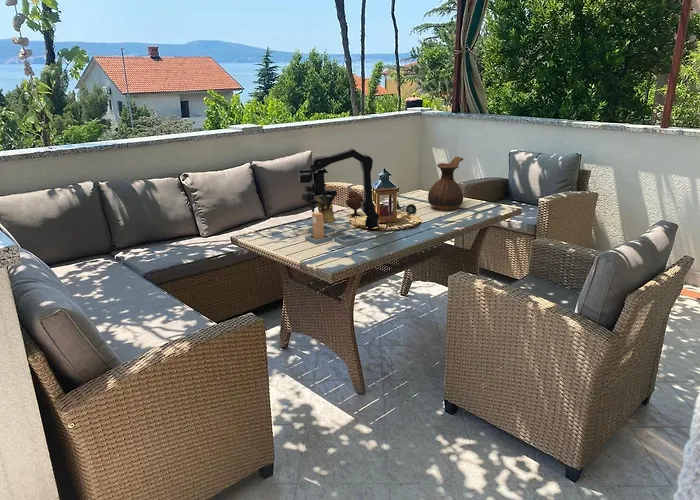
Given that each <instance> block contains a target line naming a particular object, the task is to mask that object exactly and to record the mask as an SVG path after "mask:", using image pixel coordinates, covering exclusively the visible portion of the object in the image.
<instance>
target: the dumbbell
mask: <svg viewBox="0 0 700 500" xmlns="http://www.w3.org/2000/svg"><path fill="white" fill-rule="evenodd" d="M396 198H397V208H398V209H397V208H396V209H397V210H399V211H405V212H406V213H407V214H408V215H409V214H413V213H414V214H413V215H415V214H416V213H417V206H416V205H415V204H413V203H410V204H408V205H406V208H404V209H402V208H401V206H400V204H399V200H398V197H396Z"/></svg>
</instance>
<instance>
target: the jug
mask: <svg viewBox="0 0 700 500" xmlns="http://www.w3.org/2000/svg"><path fill="white" fill-rule="evenodd" d="M463 160H464V157H459V156H454V157H453V158H452V160H451V161H450V162H447V163H446V162H445V163H444V162H440V163H438V164H436V166H437V168H438V169H440V171H441V176H440V179H439V180H437V181H435V183H433V185H432V186H431V187H430V188H429V191H428V193H427V199H428V200H427V202H428V203H429V205H430V206H431V207H433V208H435V210H438V209H439V211H444V212H445V211H446V212H447V211H448V210H449V211H454V210H456V209H457V208H459V207H460V206H462V204H463V202H464V194H463V190H462V189H461V187H460V184H458V183H457V182H456V181H455V179H454V172H455V170H456V169H458V168H459V164H460V162H461V161H463ZM449 211H448V212H449Z"/></svg>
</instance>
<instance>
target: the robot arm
mask: <svg viewBox="0 0 700 500" xmlns="http://www.w3.org/2000/svg"><path fill="white" fill-rule="evenodd" d="M351 158H352V159H353V158H354V159H355V160H356V161H358V162H359V165H360V168H361V173H362V182H363V202H361V208H360V209H361V210H362V212H363V214H365V216H366V218H365V220H364V221H365V222H364V227H368V228H370V229H371V228H374V227H378V226H379V227H380V224H379V222H380V220H379V218H380V214H379V213H378V212H377V211H376V209H375V208H376V207H375V204H374V200H373V193H372V175H371V173H372V169H373V163H374V161H373V158H372V157H371V156H369V155H368V154H362V153H360V152H358V151H357V150H356V149H354V148H349V149H347V150H344V151H340V152H337V153H334V154H331V155H327V156H326V155H325V156H324V155H322V156H315V157H313V158H312V160H311V165H310V166H309V168H308V169H299V170H298V183H299V184H305V183H307V184H308V183H311V182H312V181H313V183H311V186H310V185H306V186H305V187H304V191H305V193H303V194H302V195H301V200H302V201H305V202H307V204H308V205H309V207H310V210H311V212H312V214H313V213H315V206H316V205H315V204H316V200H315V198H316V197H321V198H322V197H324V198H325V201H326V207H327V210H329V207H330V205H331V203H333V201H334V199H335V198H336V197H337V196H338V191H337V190H335V189H325V188H326V186H327V184H326V183H325V182H326V181H325V174H329V171H328V170H326V168H327V167H328V166H329V165H331V164H334V163H338V162H340V161H345V160H348V159H351ZM317 195H318V196H317ZM365 230H366V231H370V230H369V229H367V228H365Z"/></svg>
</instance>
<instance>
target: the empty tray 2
mask: <svg viewBox="0 0 700 500" xmlns="http://www.w3.org/2000/svg"><path fill="white" fill-rule="evenodd" d="M346 234H347V233H346ZM333 242H334V243H337V244H339V245H342V246H345V247H348V246H351V245H355V244H359V243H362V242H363V238H362V237H361V236H358V235H354V234H352V233H348V234H347V235H343V236H339V237H335V238H334V239H333Z"/></svg>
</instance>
